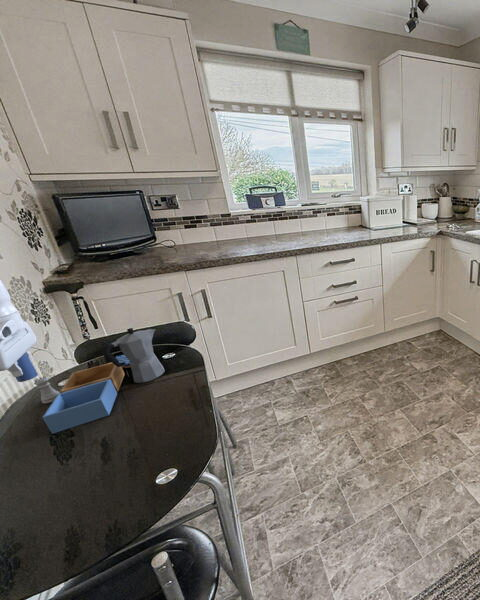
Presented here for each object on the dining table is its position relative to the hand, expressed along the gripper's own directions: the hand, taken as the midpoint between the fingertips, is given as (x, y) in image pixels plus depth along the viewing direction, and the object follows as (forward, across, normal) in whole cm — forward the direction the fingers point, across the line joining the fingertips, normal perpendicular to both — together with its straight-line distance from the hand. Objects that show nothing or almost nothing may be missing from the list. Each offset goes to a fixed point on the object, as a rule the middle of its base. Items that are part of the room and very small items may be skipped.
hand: (23, 370), depth 91 cm
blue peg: (+2, 0, 0) cm, 2 cm away
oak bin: (+15, -7, +11) cm, 19 cm away
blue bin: (+15, +7, +11) cm, 19 cm away
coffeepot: (+15, -5, +24) cm, 28 cm away
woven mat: (+15, -22, +17) cm, 31 cm away
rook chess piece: (+15, -9, -1) cm, 18 cm away
